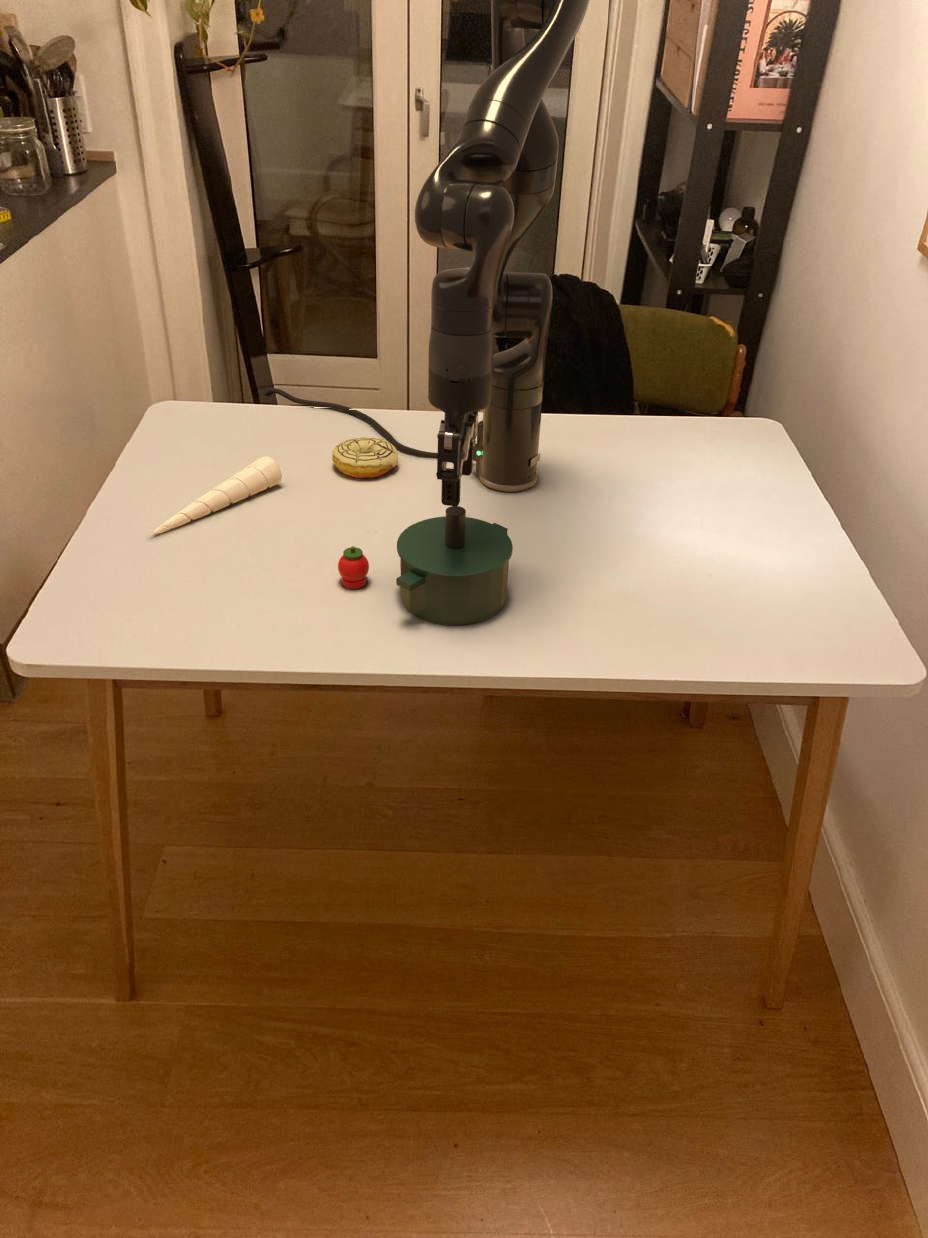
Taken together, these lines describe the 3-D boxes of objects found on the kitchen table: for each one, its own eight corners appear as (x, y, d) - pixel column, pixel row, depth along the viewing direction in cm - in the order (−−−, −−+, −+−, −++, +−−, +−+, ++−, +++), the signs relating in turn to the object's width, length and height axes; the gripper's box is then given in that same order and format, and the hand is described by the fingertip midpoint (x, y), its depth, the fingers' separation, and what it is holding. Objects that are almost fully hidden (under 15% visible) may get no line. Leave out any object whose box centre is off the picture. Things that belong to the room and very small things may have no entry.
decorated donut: (409, 472, 163) (409, 451, 161) (352, 487, 158) (352, 466, 156) (378, 448, 170) (377, 428, 168) (322, 462, 165) (321, 441, 163)
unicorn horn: (137, 528, 145) (132, 499, 142) (266, 477, 160) (263, 450, 157) (155, 540, 143) (150, 510, 140) (284, 487, 157) (282, 460, 155)
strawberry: (332, 582, 135) (330, 547, 132) (354, 571, 137) (353, 536, 134) (353, 594, 133) (352, 559, 129) (375, 582, 135) (375, 547, 132)
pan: (364, 604, 131) (363, 556, 126) (460, 549, 143) (462, 503, 139) (444, 648, 123) (445, 598, 119) (538, 585, 136) (542, 539, 131)
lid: (372, 552, 128) (371, 511, 125) (449, 511, 138) (450, 472, 135) (460, 596, 120) (461, 554, 117) (535, 550, 130) (538, 509, 127)
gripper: (441, 341, 121) (439, 461, 130) (415, 383, 109) (415, 512, 119) (501, 347, 120) (495, 467, 129) (482, 389, 108) (476, 519, 118)
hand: (457, 488), depth 124 cm, fingers open, 8 cm apart
